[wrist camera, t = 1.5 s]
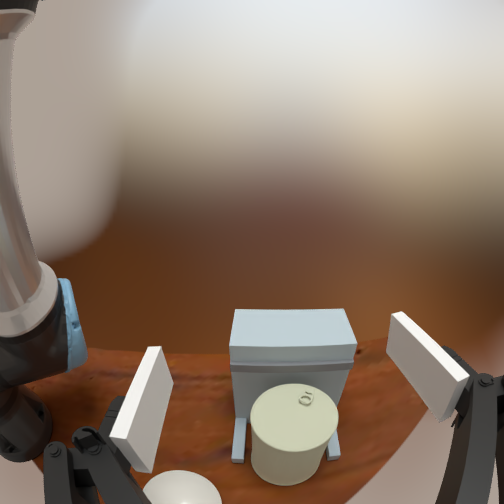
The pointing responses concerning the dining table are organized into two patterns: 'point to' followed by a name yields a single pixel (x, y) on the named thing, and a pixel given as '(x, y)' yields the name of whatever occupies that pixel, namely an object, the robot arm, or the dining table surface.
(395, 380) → the dining table surface
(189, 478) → the coaster
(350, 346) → the pale blue footed box
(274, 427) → the can
